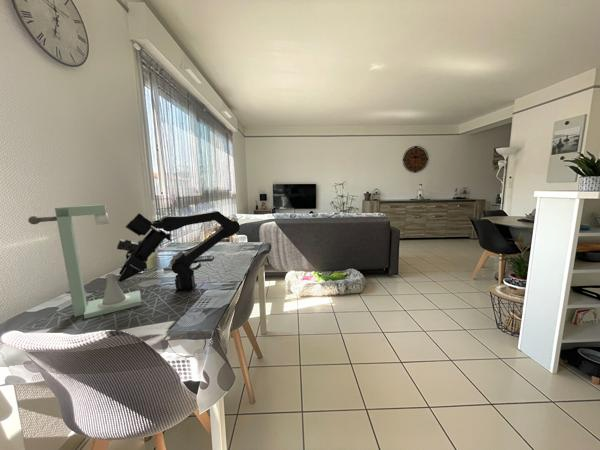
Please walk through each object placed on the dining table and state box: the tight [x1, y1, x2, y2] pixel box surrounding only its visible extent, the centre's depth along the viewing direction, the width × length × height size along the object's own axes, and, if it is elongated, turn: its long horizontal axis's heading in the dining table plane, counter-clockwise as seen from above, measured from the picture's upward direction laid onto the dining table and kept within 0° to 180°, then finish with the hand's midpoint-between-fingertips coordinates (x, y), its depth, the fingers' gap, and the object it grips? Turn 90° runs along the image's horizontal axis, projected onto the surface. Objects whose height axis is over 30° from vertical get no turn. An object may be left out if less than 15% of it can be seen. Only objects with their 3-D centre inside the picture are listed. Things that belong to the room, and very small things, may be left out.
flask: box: [102, 272, 126, 305], centre depth 92 cm, size 7×7×10 cm
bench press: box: [27, 204, 142, 320], centre depth 87 cm, size 26×12×36 cm, turn 124°
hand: (119, 277), depth 93 cm, fingers open, 9 cm apart
